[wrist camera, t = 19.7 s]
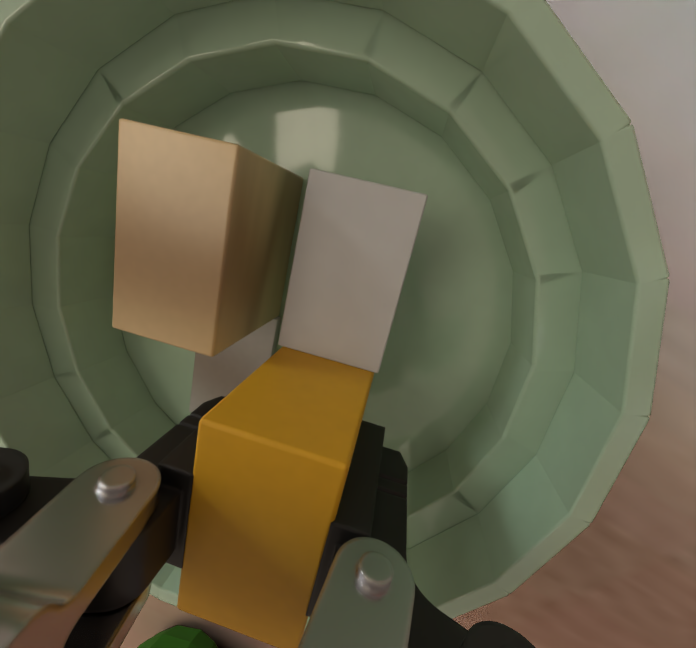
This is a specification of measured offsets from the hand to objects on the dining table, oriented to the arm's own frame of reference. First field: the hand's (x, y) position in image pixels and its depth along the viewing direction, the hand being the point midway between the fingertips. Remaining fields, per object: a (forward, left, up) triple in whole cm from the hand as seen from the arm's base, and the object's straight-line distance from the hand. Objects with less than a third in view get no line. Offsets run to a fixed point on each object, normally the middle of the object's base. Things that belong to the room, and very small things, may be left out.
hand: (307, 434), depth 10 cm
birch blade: (-2, -4, -3) cm, 5 cm away
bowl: (-2, -2, -3) cm, 4 cm away
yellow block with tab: (-2, 0, -1) cm, 2 cm away
